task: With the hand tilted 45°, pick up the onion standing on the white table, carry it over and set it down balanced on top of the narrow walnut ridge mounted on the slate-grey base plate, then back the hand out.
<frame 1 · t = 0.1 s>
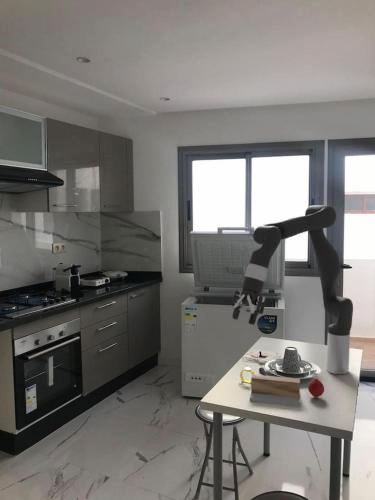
hand: (242, 321, 154), 31 cm above the table, tool tilted 20°, fingers open, 8 cm apart
onion: (315, 398, 163), on the table
ridge base: (275, 396, 164), on the table
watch: (247, 382, 178), on the table
bracket: (268, 379, 183), on the table
ridge: (275, 386, 164), on the ridge base, point 4 cm above the table
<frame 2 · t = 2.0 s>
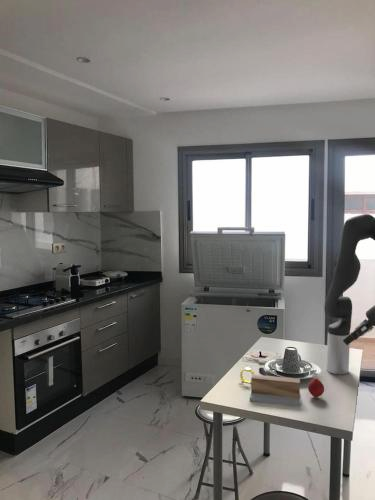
hand: (348, 339, 154), 25 cm above the table, tool tilted 45°, fingers open, 8 cm apart
nothing on the table moved.
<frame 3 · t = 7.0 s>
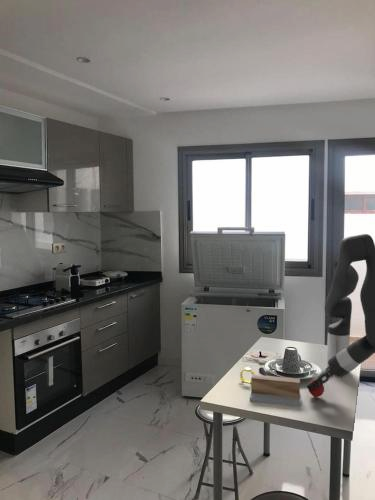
hand: (311, 385, 164), 4 cm above the table, tool tilted 45°, fingers closed on onion, 5 cm apart
onion: (315, 398, 163), on the table, touching gripper
everything else where it was.
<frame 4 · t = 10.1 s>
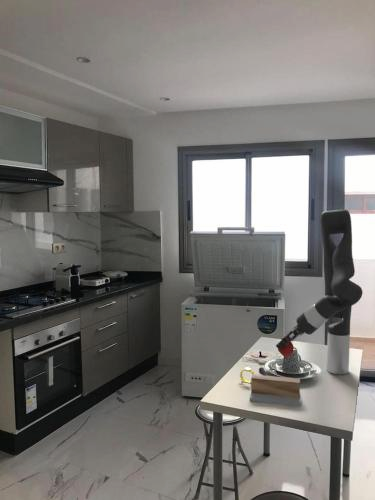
hand: (281, 345, 162), 20 cm above the table, tool tilted 45°, fingers closed on onion, 5 cm apart
onion: (285, 357, 162), point 16 cm above the table, touching gripper
everything else where it was.
when the fingers open (13 cm above the table, at t = 13.1 s): onion drops 1 cm, resting on ridge.
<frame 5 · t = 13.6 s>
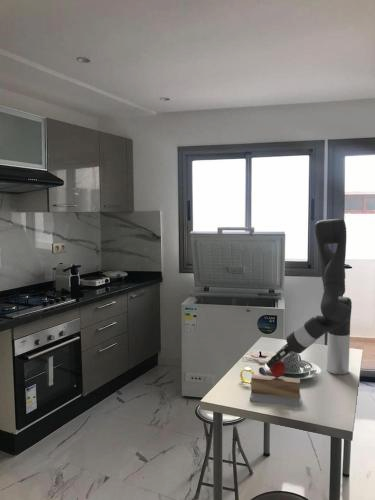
hand: (272, 362, 163), 13 cm above the table, tool tilted 45°, fingers open, 8 cm apart
onion: (276, 378, 164), point 7 cm above the table, touching ridge
everything else where it was.
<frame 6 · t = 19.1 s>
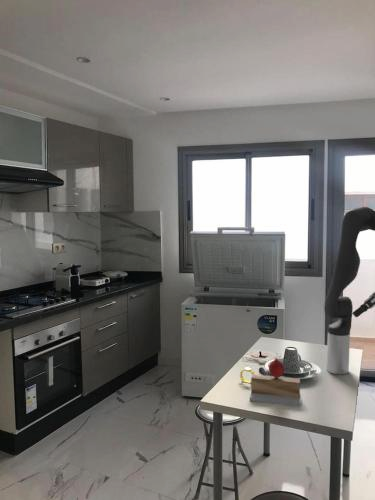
hand: (357, 312, 157), 34 cm above the table, tool tilted 45°, fingers open, 8 cm apart
nothing on the table moved.
at the end: onion inside the target area on the ridge (0.4 cm from its centre), point 7.0 cm above the ridge's base; onion tilted 0°; the gripper is holding nothing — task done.
